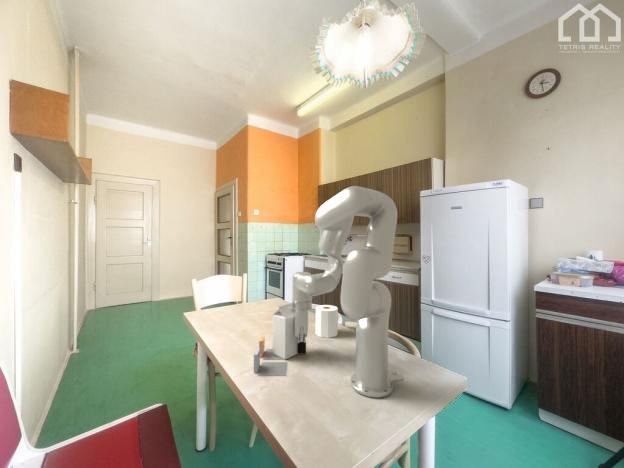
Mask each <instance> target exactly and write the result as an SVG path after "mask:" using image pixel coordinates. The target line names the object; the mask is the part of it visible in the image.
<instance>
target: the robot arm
mask: <svg viewBox="0 0 624 468" xmlns="http://www.w3.org/2000/svg"><path fill="white" fill-rule="evenodd" d="M357 216H358V217H368V218H369V223H368V225H367V227H366V230H365V234H364V235H365V237H364V244H363V247H357V248H354V249H353V250H351V251H350V252H349V253H348V254H347V255H346V257H345V260H343V257H342V253H343V249H344V247H345V245H346V242H347V239H348V237H349V234H350V231H351V228H352V226H353V223H354V218H355V217H357ZM314 223H315V225H316V227H317V228H318V229H319V230H320V231H322V234H321V237H320V240H319V241H318V242H319V243H318V247H317V248H318V249H319V251H320V252H321V253H323V254H325V255H326V256H327V263H326V267H325V270H324V272H320V273H315V274H312V273H311V272H309V271H297V272H294V273H293V275H292V302H291V303H292V309H293V310H295V330H294V337H298V354H306V353H307V340H306V338H307V337H308V332H309V321H310V320H309V319H310V318H309V316H310V315H309V313H310V311H312V309H313V297H316V296H319V295H324V294H327V293H331V292H333V291H334V290H335V289H336V288H337V286H338V284H339V282H340V279H341V277H342V279H341V288H340V297H339V298H340V307H341V310H342V312H343V314H344V315H345V316H346V317H347V318H348V319H350V320H351V321H352V320H353V321H356V329H355V330H356V331H355V373H354V374H352V376H351V377H350V386H351V388H352V389H353V390H354V391H356V393H358V394H360V395H362V396H365V397H369V398H384V397H387V396H389V395H390V394H392V393H393V390H394V383H395V382H399V383H401V382H405V376H404V373H403V374H402V373H401V374H398V373H397V371H396V370H391V371H390V370H389V321H390V313H391V307H392V295H391V292H390V289H389V287H387V285H385V284H384V283H383V282H380V281H377V280H378V279H381V278H384V277H386V276H387V275H388V274H389V273H390V272H391V270H392V269H391V268H392V263H393V253H394V245H395V235H396V229H397V223H398V209H397V206H396V203H395V202H394V200H393V199H392V198H391V197H390V196H389V195H388V194H385V193H383V192H381V191H379V190H376V189H372V188H366V187H363V186H359V185H351V186H349V187H346V188H344V189H342V190H341V191H340V192H338V193H337V194H335V195H334V196H332V197H331V198H329V199H328V200H326V201H325V202H323V204H321V205H320V206H319V207H318V209H317V210H316V212H315V215H314ZM343 262H344V263H343Z"/></svg>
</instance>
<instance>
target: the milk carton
mask: <svg viewBox="0 0 624 468" xmlns="http://www.w3.org/2000/svg"><path fill="white" fill-rule="evenodd" d="M294 330H295V310H293V309H292V302H290V303H289V302H288V303H286V304H282V305H279V306H278V309H277V310H276V311H275V312H274V313H273V314H272V349H273V354H274V355H276V356H279V357H281V358H283V359H287V358H288V359H290V358H292V357H293V356H295V355H297V354H299V353H298V337H294Z"/></svg>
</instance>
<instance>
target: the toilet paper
mask: <svg viewBox="0 0 624 468" xmlns="http://www.w3.org/2000/svg"><path fill="white" fill-rule="evenodd" d="M338 314H339V308H338V306H335V305H331V304H322V305H321V304H320V305H317V306H315V335H316V336H318V337H320V338H327V339H329V338H336V336H338V334H339V333H338V332H339V331H338V330H339V328H338V327H339V326H338V325H339V323H338V322H339V321H338V320H339V315H338Z"/></svg>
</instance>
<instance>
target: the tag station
mask: <svg viewBox="0 0 624 468" xmlns="http://www.w3.org/2000/svg"><path fill="white" fill-rule="evenodd" d="M265 339H266V338H265V335H261V336H260V339H259V341H258V342H259V343H258V344H259V345H258V347H256V349H255V351H254V353H253V373H254V374H257V373H258V374H257V377H286V376H287V367H288V362H287V361H288V359H289V358H287V359H283V358H281V357H279V356H276V355H274V354H273V348H266V350H265V342H266V341H265ZM261 358H262V360H263V361H264V362H263V361H262V362H261ZM265 361H267V362H265ZM268 361H269V362H268ZM272 361H273V362H272ZM278 361H279V362H278Z"/></svg>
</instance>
